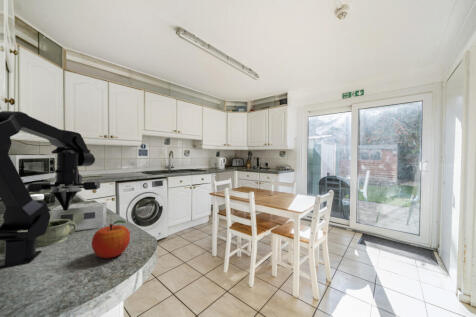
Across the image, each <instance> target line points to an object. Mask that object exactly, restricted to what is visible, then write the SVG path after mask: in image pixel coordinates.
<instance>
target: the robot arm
mask: <svg viewBox="0 0 476 317" xmlns="http://www.w3.org/2000/svg"><path fill="white" fill-rule="evenodd" d="M20 131H22V132H24V133H27V134H30V135H33V136H36V137H39V138H41V139H44V140H48V141H49V143H50V144H51V145H53V146H55V147H56V148H55V149H54V150H52V151H51V154H56V169H54V173H55V181H54V183H51V182H50V181H41V182H40V181H39V182H32V183H29V184H28V185H27V186H26V185H25V182H24V181H23V179H22V177H21V175H20V174H19V172H18V169H17V168H16V166H15V164H14V162H13V160H12V159H11V156H10V154H9V153H10V150H11V147H12V140H11V137H13V136H15V135H17V134H18V133H20ZM95 160H96V158H95V156H94V154H92V153H91V150H90V149H89V148H88V146H87V145H86V141H85V140H84V138H83V137H82V135H81V133H79V132H78V131H77V132H76V131H72V130H65V129H60V128H58V127H55V126H53V125H51V124H49V123H46V122H44V121H42V120H39V119H37V118H34V117H32V116H29V115H28V114H27V113H25V112H23V111H17V110H15V111H14V110H13V111H12V110H11V111H10V110H2V111H0V200H1V202H2V203H3V205H4V207H5V208H4V212H3V215H2V218H3V222H2V224H0V241H2V242H3V241H4V257H3V260H2V261H1V262H0V268H5V267H9V266H16V265H22V264H29V263H31V262H32V261H34V259H36V258H37V257H38V256H39V255H40V254H41V253H42V250H37V240H36V238H37V237H39V236H42V235H44V234H45V233H46V230H47V227H48V224H49V221H51V213H50V212H52V209H50V208H49V207H48V203H47V201H45V200H33V199H32V198H31V196H30V195H31V194H30V193H39V192H41V191H43V190H45V191H46V190H50V192H49V194H50V195H53V196H54V197H55V198H56V200H57V201H58V203H59V204H60V205H61V206H62V208H63V210H64V211H65V210H68V208H69V206H70V205H72V202H73V200H74V198H75V196H76V195H77V193H79V192H82V189H84V191H95V190H99V189H100V188H101V182H100V181H99V180H87V181H84V182H83V175H81V174H80V173H79V172H80V171H79V167H90V166H92V165H94V163H95ZM82 182H83V183H82Z"/></svg>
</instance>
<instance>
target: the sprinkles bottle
mask: <svg viewBox="0 0 476 317" xmlns="http://www.w3.org/2000/svg"><path fill="white" fill-rule="evenodd" d="M30 196H31V198H32V199H33V200H44V199H45V195H44V194H43V193H39V194H38V193H37V194H35V193H34V194H30ZM44 201H45V200H44Z"/></svg>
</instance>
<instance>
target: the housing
mask: <svg viewBox="0 0 476 317" xmlns="http://www.w3.org/2000/svg"><path fill="white" fill-rule="evenodd" d="M58 219H69V220H70V222H74V223H75V224H76V229H75V231H74V232H78V231H86V230H92V229H93V230H94V229H101V228H104V227H105V224H106V223H107V201H104V202H103V201H102V202H89V203H77V204H75V203H71V204H70V206H69V208H68V210H65V211H64V210H63V208H62V206H61V204H60V205H58V206H57V207H54V208H52V209H51V220H58ZM70 229H71V230H73V229H74V226H73V225H70Z"/></svg>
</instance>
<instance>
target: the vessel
mask: <svg viewBox="0 0 476 317" xmlns="http://www.w3.org/2000/svg"><path fill="white" fill-rule="evenodd" d="M70 225H73V226H74V229H73V230H71V229H70ZM75 229H76V224H75V223H74V222H70V220H69V219H58V220H52V219H50V221H49V224H48V227H47V230H46V233H45V234H44V235H42V236H39V237H37V238H36V241H38V243H37V245H39V246H42V247H43V246H44V247H45V246H51V245H57V244H60V243H62V242H65V241H67V240H69V237H68V235H69V236H73V235H74V232H76V231H75Z"/></svg>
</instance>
